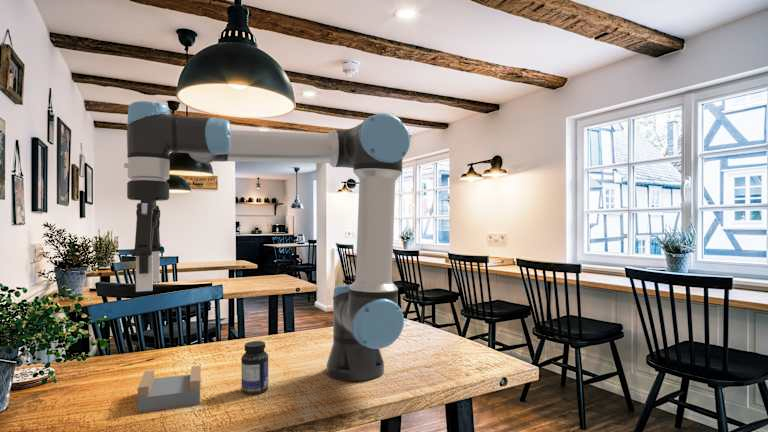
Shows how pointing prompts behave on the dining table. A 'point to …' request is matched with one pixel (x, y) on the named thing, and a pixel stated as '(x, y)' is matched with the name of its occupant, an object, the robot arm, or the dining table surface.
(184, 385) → the display plinth
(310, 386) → the dining table surface
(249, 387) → the pill bottle
